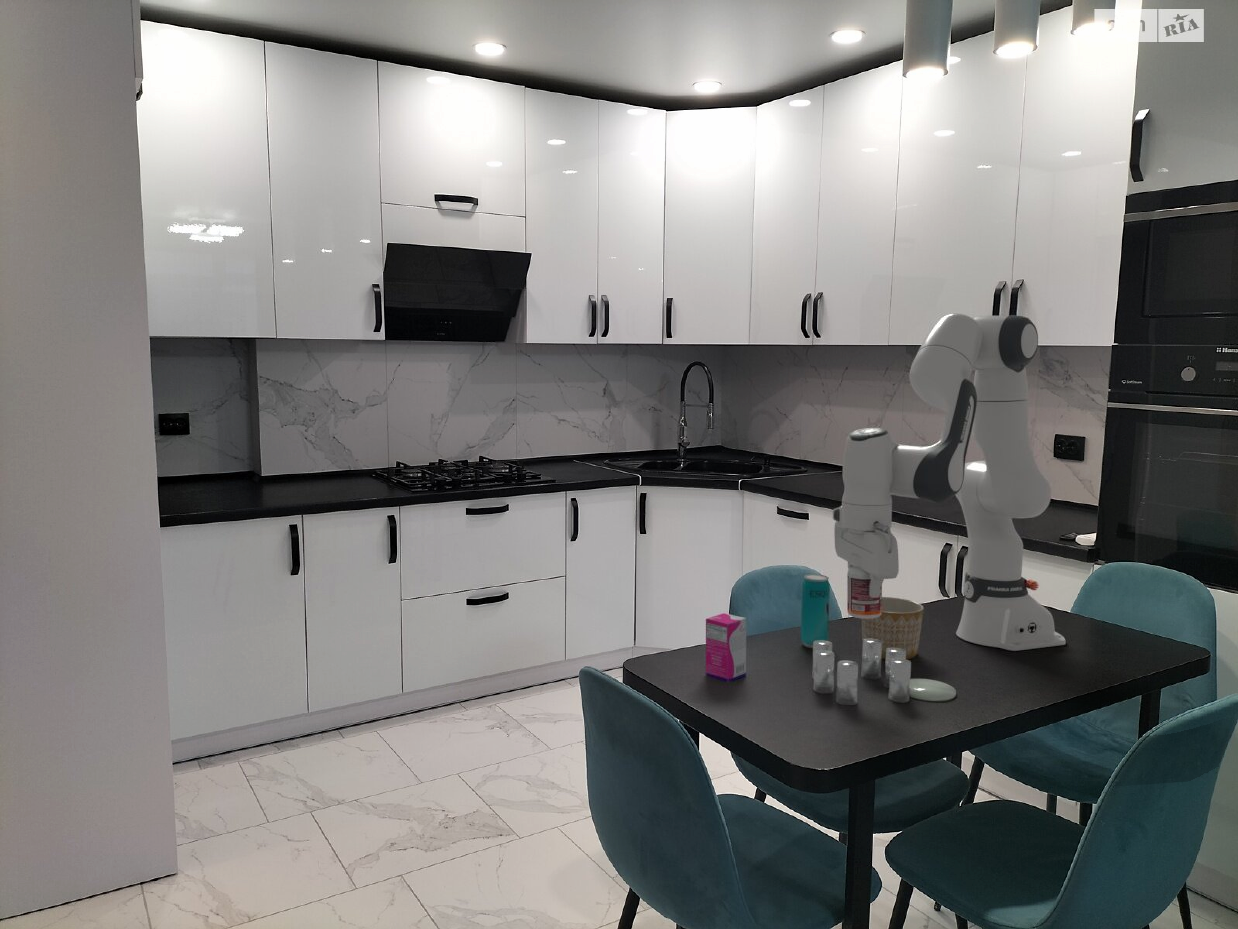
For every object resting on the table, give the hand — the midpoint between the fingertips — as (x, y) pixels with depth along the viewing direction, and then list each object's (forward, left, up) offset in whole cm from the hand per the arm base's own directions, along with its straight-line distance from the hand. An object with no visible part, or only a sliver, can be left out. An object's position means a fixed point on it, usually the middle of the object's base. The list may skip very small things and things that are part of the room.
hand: (864, 591), depth 167 cm
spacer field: (0, 0, -19) cm, 19 cm away
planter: (-15, -19, -19) cm, 30 cm away
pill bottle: (0, 0, -5) cm, 5 cm away
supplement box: (+23, -10, -19) cm, 31 cm away
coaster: (-12, +3, -19) cm, 22 cm away
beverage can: (-1, -26, -19) cm, 32 cm away
